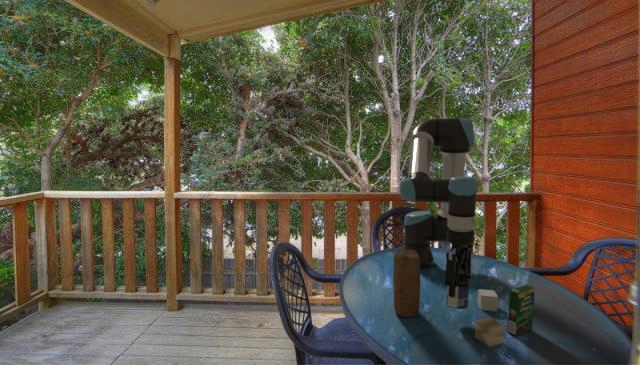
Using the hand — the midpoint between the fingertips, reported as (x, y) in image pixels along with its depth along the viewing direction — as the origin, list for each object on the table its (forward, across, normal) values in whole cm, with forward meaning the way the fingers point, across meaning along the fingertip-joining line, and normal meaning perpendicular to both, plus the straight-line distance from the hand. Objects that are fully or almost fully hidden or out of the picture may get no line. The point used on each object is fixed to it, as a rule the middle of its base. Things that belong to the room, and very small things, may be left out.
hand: (457, 302), depth 105 cm
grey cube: (+6, +16, -4) cm, 17 cm away
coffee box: (+6, +7, -16) cm, 18 cm away
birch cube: (+6, -4, -11) cm, 13 cm away
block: (+6, -5, +15) cm, 17 cm away
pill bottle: (+1, 0, 0) cm, 1 cm away
